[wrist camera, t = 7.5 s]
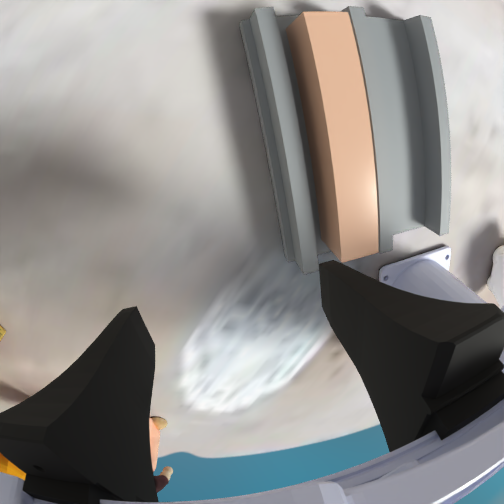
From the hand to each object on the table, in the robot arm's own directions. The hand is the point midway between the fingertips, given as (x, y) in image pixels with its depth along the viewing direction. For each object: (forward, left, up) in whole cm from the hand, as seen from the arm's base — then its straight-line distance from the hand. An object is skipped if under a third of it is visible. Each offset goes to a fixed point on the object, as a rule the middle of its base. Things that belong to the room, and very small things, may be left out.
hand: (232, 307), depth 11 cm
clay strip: (+5, -8, -9) cm, 12 cm away
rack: (+4, -10, -10) cm, 15 cm away
